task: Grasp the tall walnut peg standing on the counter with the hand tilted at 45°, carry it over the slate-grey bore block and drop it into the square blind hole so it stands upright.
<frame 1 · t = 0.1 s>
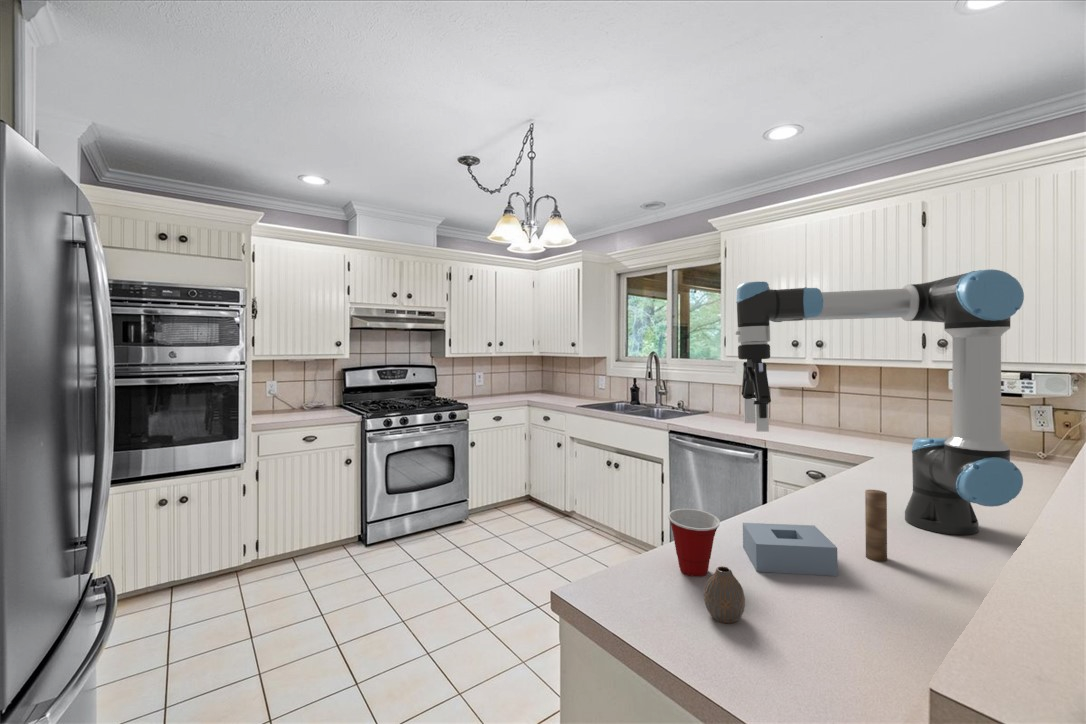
hand: (755, 427, 124), 28 cm above the worktop, tool pointing down, fingers open, 13 cm apart
vase: (724, 618, 88), on the worktop
plastic cup: (694, 572, 106), on the worktop
walnut peg: (876, 557, 110), on the worktop
bore block: (786, 560, 110), on the worktop
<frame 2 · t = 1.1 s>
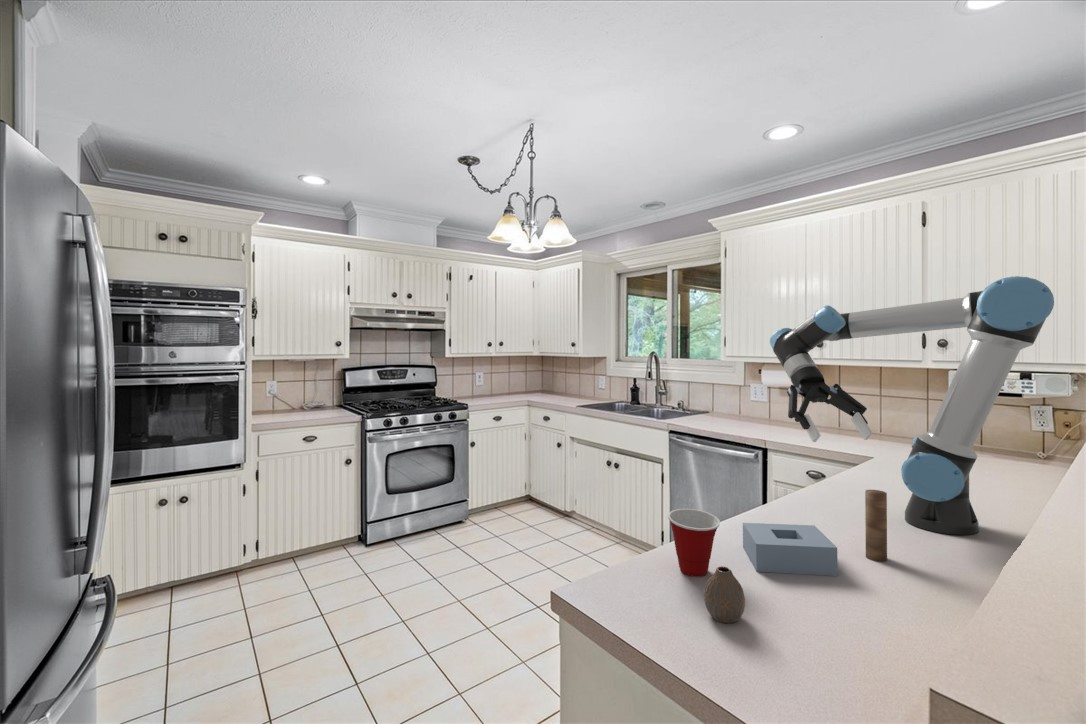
hand: (843, 437, 120), 25 cm above the worktop, tool tilted 45°, fingers open, 13 cm apart
nothing on the worktop moved.
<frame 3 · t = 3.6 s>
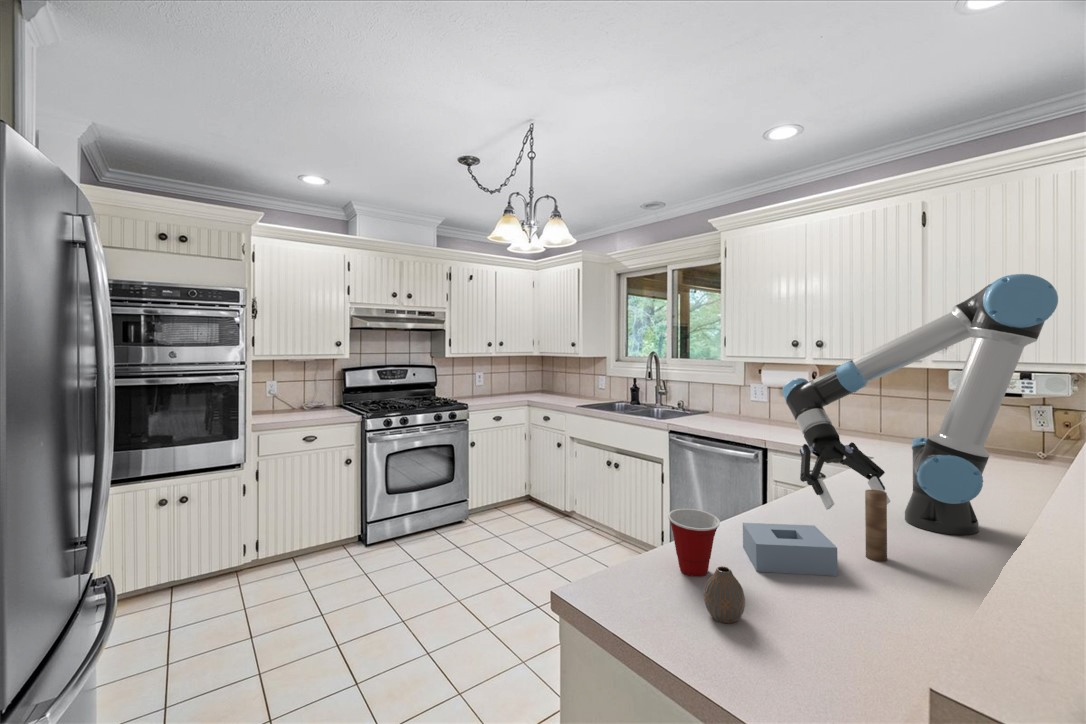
hand: (858, 505, 114), 11 cm above the worktop, tool tilted 45°, fingers open, 13 cm apart
nothing on the worktop moved.
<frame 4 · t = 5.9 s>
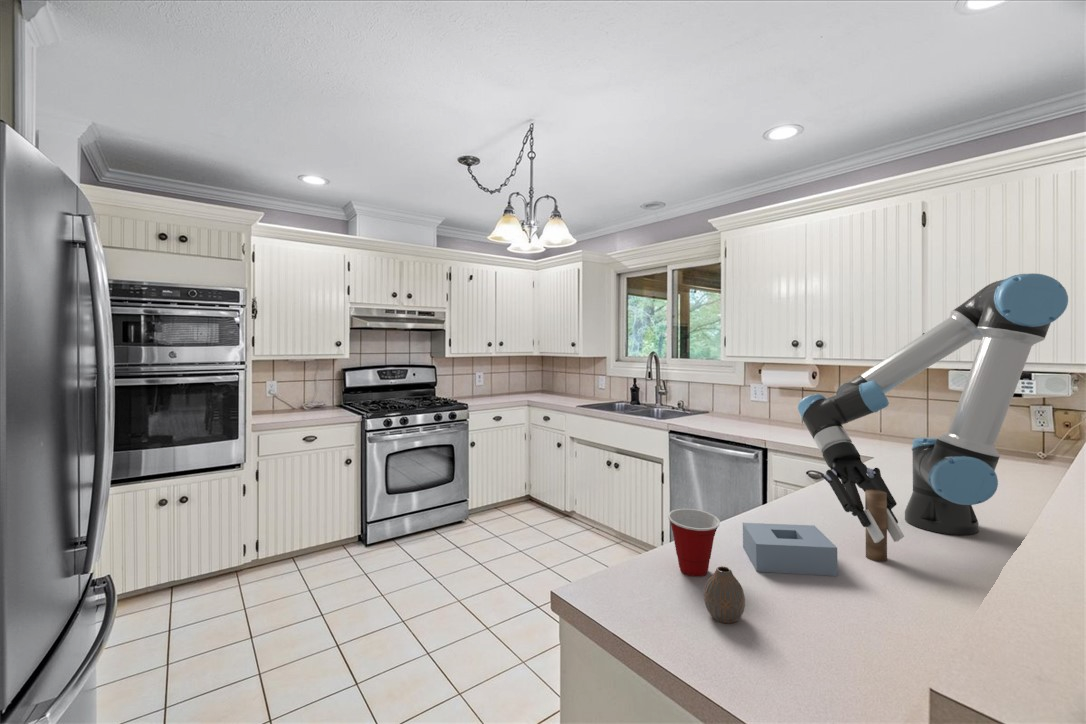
hand: (889, 539, 107), 6 cm above the worktop, tool tilted 45°, fingers closed on walnut peg, 4 cm apart
walnut peg: (876, 557, 110), on the worktop, touching gripper
everything else where it was.
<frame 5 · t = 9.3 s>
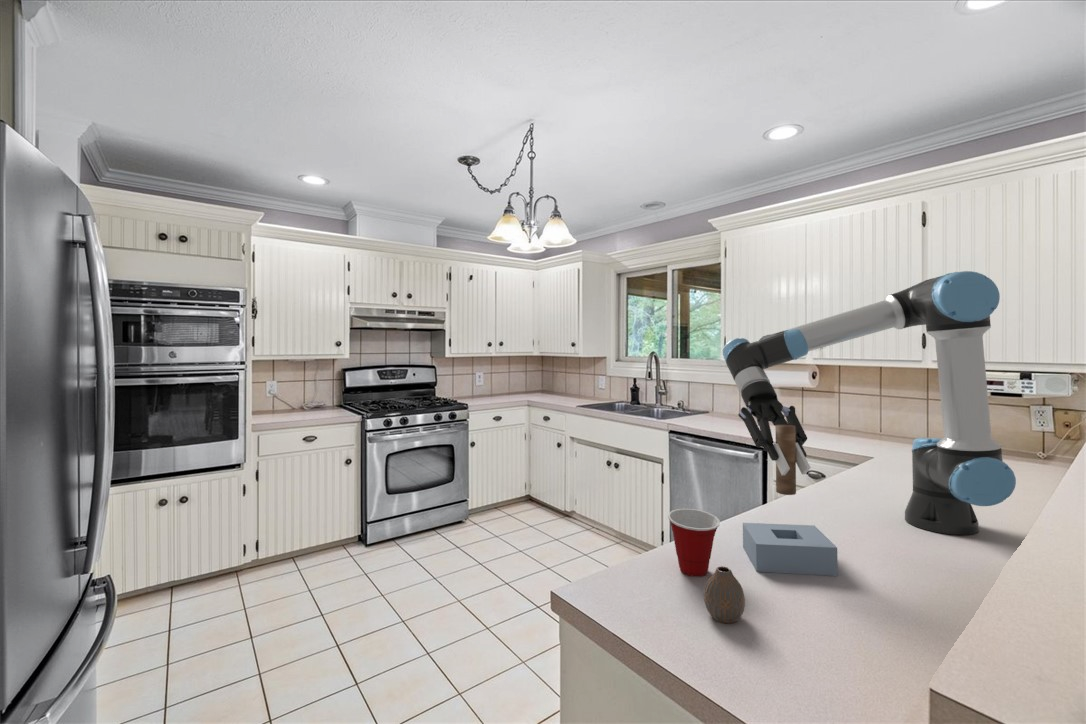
hand: (796, 471, 106), 21 cm above the worktop, tool tilted 45°, fingers closed on walnut peg, 4 cm apart
walnut peg: (786, 492, 110), point 15 cm above the worktop, touching gripper
everything else where it was.
when the fingers open (9 cm above the worktop, at t = 12.6 s): walnut peg drops 2 cm, resting on bore block.
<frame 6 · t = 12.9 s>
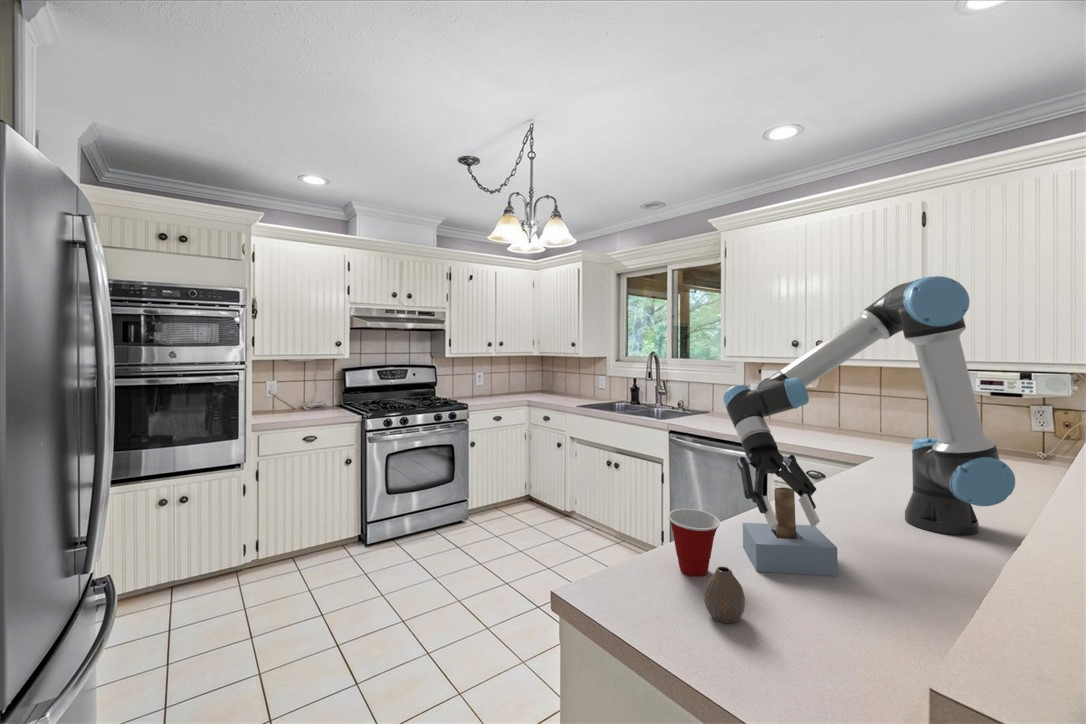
hand: (795, 525, 107), 9 cm above the worktop, tool tilted 45°, fingers open, 9 cm apart
walnut peg: (786, 555, 110), point 1 cm above the worktop, touching bore block
everything else where it was.
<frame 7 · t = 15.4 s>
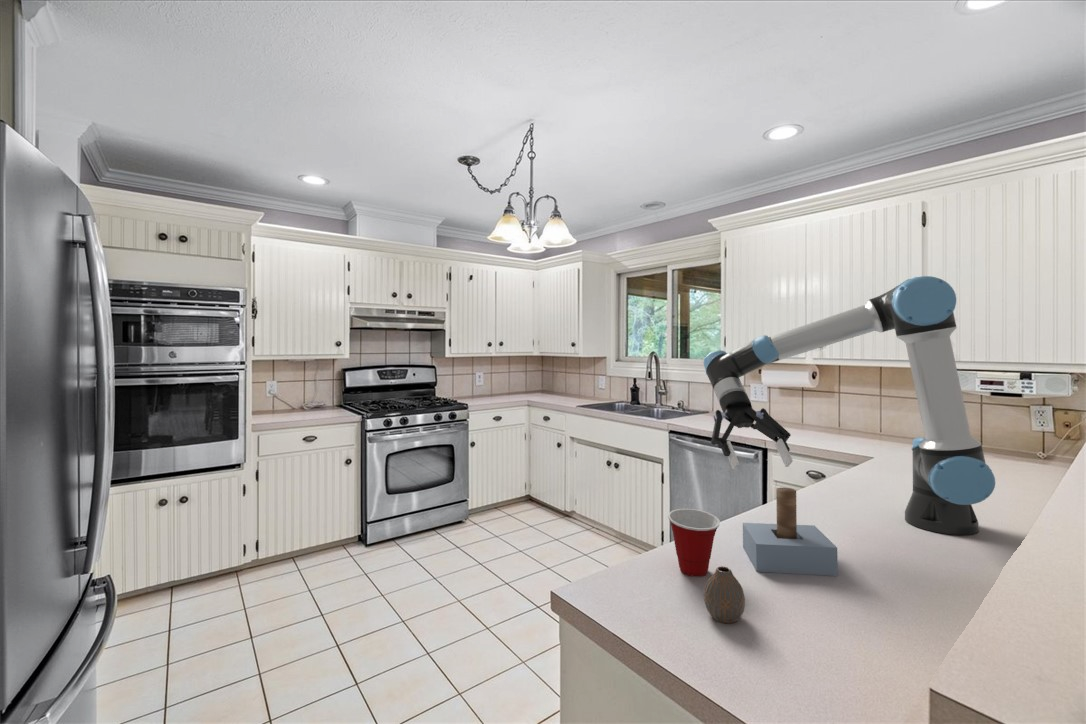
hand: (762, 465, 119), 19 cm above the worktop, tool tilted 45°, fingers open, 13 cm apart
nothing on the worktop moved.
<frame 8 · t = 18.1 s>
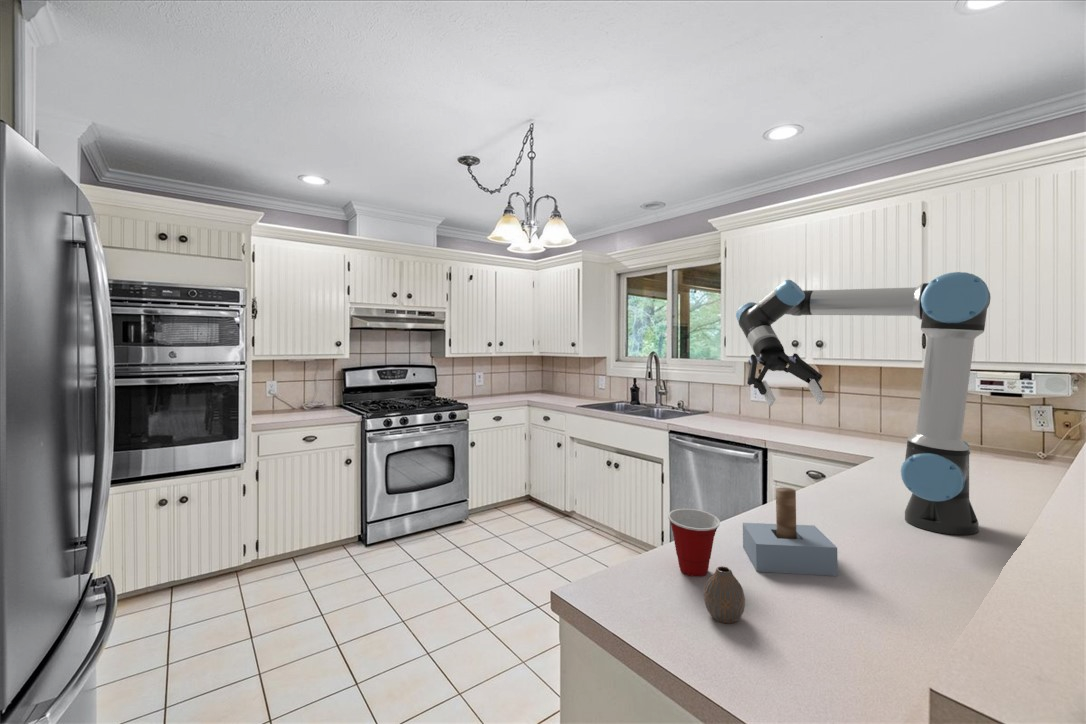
hand: (797, 402, 127), 34 cm above the worktop, tool tilted 45°, fingers open, 13 cm apart
nothing on the worktop moved.
at the end: walnut peg 0.1 cm off-centre on the bore block, point 1.0 cm above the bore block's base; walnut peg tilted 0°; the gripper is holding nothing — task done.
